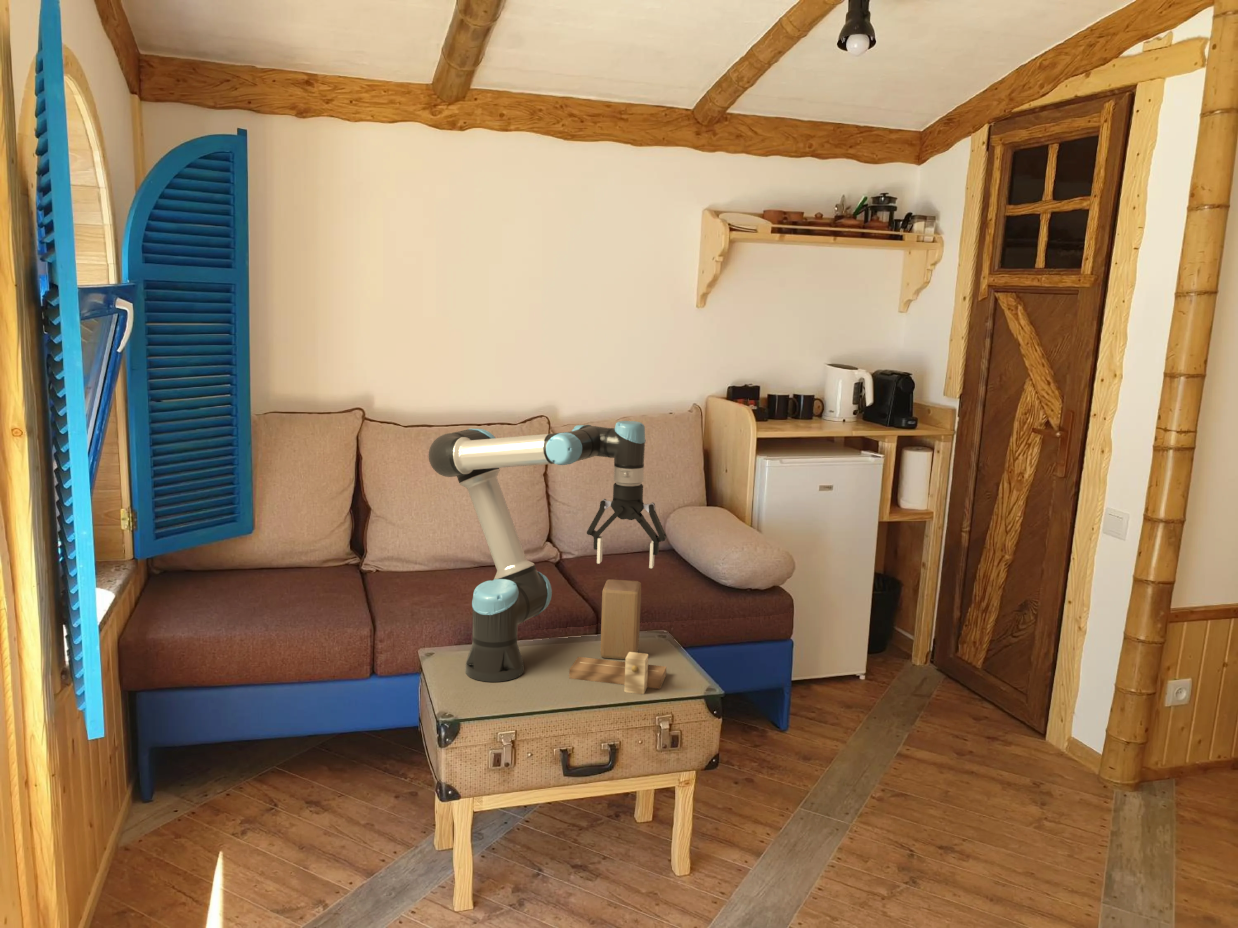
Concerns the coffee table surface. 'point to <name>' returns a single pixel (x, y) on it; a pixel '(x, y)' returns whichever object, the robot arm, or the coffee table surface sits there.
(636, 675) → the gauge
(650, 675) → the board
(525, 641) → the coffee table surface
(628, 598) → the wooden block
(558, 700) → the coffee table surface
